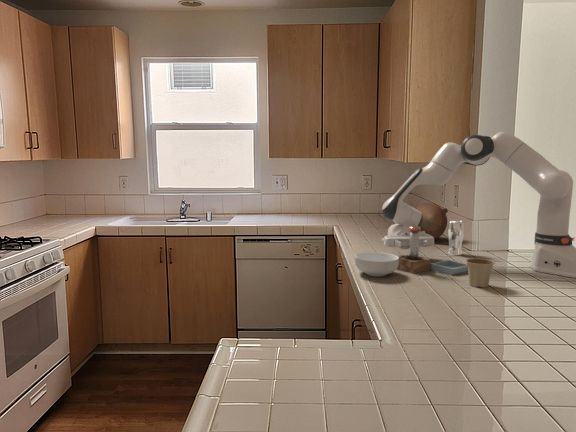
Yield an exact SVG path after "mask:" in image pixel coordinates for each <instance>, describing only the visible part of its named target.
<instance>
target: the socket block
mask: <svg viewBox="0 0 576 432" xmlns="http://www.w3.org/2000/svg"><path fill="white" fill-rule="evenodd" d="M398 257H399V256H398ZM430 263H431V258H428V257H424V256H423V257H422V256H419V255H418V260H415V261H413V260H409V255H407V256H406V255H405V256H400V257H399V264H398V267H397V269H396V270H401V271H404V272H407V273H411V274H419V273H425V272H428V271H430Z"/></svg>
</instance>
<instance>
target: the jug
mask: <svg viewBox="0 0 576 432" xmlns="http://www.w3.org/2000/svg"><path fill="white" fill-rule="evenodd" d="M414 208H415V209H417V210H419V211H420V212H422V215H423V224H422V226H421V230H420V231H425V233H426V234H429V235H431V236H432V237H434V240H436V239H438V238H440V237H441V236H443V234H444V233H445V231H446V230H447V228H448V216H447V213H448V212H449V210H448V209H447V208H446V207H445V208H442V207H441V206H439V205H437V204H434V203H432V202H431V203H430V202H425V203H421V204H419V205H417V206H416V207H414Z"/></svg>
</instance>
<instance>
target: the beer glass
mask: <svg viewBox="0 0 576 432" xmlns="http://www.w3.org/2000/svg"><path fill="white" fill-rule="evenodd" d="M464 235H465V221H464V220H463V221H462V220H449V221H448V223H447V238H448V246H449V247H448V251H447V254H448V255H450V256H462V255H463V251H462V246H463V244H462V243H463V240H464Z"/></svg>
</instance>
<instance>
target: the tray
mask: <svg viewBox="0 0 576 432" xmlns="http://www.w3.org/2000/svg"><path fill="white" fill-rule="evenodd" d="M430 270H431V271H435V272H438V273H440V274H441V273H442V274H445V275H449V276H452V277H453V276H456V275H462V274H466V273H468V266H467V263H462V262H458V261H454V260H449V259H446V260H440V261H436V262H430ZM430 270H429V271H430Z"/></svg>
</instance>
